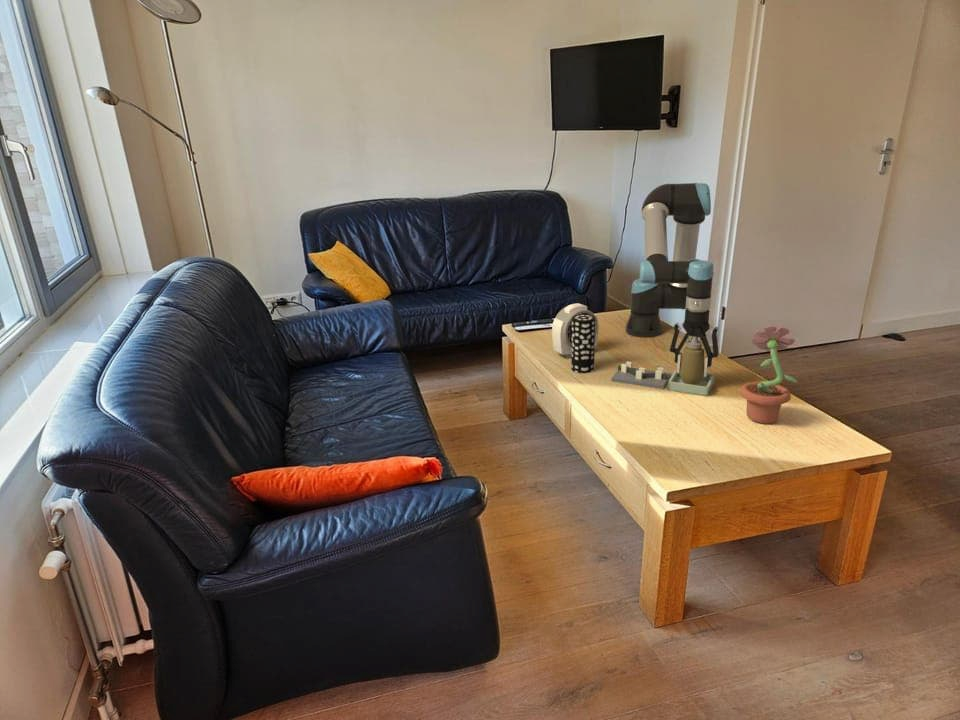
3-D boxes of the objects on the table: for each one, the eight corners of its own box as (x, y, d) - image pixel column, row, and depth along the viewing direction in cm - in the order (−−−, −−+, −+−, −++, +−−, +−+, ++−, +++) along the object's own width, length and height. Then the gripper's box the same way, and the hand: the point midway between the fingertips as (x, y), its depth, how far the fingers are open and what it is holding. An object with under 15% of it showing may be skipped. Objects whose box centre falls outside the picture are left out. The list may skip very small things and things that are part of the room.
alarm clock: (562, 361, 240) (562, 311, 233) (550, 355, 247) (549, 305, 240) (600, 352, 248) (601, 303, 240) (587, 346, 255) (588, 298, 247)
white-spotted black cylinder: (598, 368, 232) (599, 316, 225) (585, 375, 227) (586, 322, 220) (579, 363, 238) (580, 312, 231) (566, 369, 232) (567, 318, 225)
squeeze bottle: (700, 377, 217) (705, 328, 210) (706, 387, 209) (711, 336, 203) (676, 377, 218) (680, 328, 211) (681, 386, 210) (685, 336, 204)
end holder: (675, 376, 222) (676, 368, 221) (713, 381, 216) (714, 373, 215) (667, 390, 212) (667, 382, 211) (707, 396, 206) (708, 387, 205)
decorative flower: (790, 412, 192) (804, 319, 182) (791, 432, 181) (806, 334, 170) (738, 405, 198) (749, 315, 187) (735, 424, 187) (746, 329, 176)
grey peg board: (620, 369, 231) (621, 359, 229) (670, 376, 222) (671, 365, 221) (611, 381, 221) (611, 370, 219) (663, 389, 213) (664, 378, 211)
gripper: (662, 308, 206) (658, 372, 214) (729, 315, 196) (722, 382, 205) (667, 302, 212) (663, 365, 220) (733, 308, 203) (726, 373, 211)
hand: (691, 373), depth 212 cm, fingers closed on squeeze bottle, 8 cm apart
